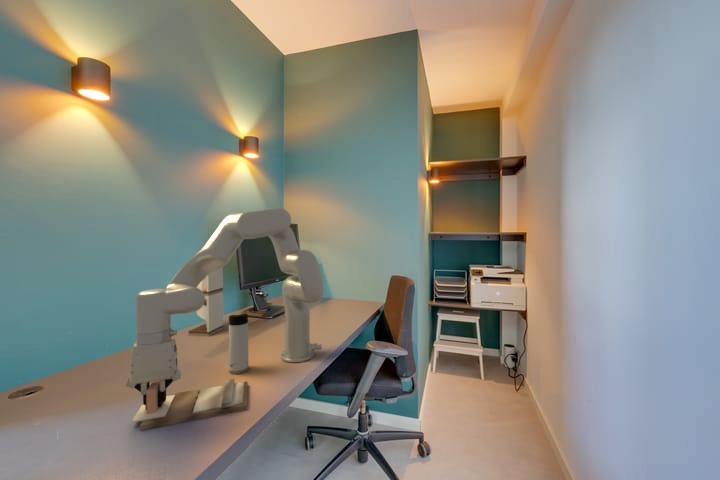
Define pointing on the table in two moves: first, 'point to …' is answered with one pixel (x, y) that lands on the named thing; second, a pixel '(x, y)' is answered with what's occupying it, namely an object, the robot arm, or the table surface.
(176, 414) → the ticket board
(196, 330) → the display case
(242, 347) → the travel mug
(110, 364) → the table surface
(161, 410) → the stub
